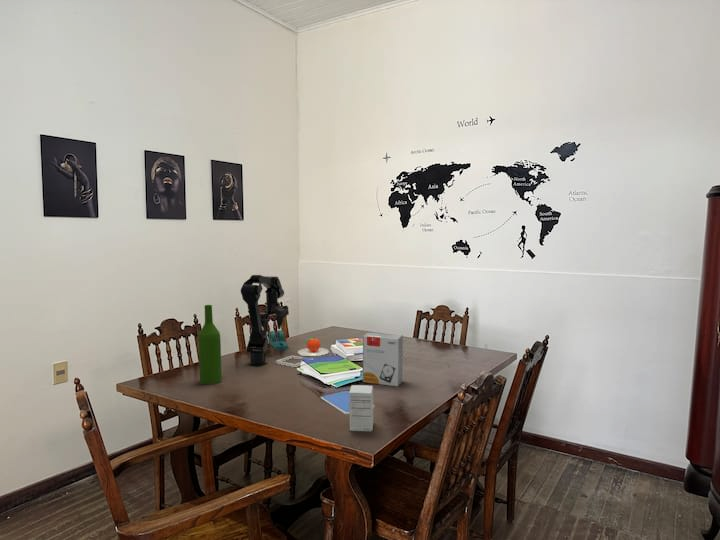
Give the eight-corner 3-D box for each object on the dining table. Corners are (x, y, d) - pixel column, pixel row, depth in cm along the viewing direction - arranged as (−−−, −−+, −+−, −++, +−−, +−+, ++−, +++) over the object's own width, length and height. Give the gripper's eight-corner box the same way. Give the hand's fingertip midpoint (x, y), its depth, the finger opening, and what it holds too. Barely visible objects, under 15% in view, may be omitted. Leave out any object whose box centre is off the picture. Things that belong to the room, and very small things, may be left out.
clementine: (306, 353, 242) (305, 340, 241) (303, 350, 249) (303, 337, 248) (321, 352, 244) (321, 338, 244) (319, 349, 251) (318, 336, 250)
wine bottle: (212, 376, 209) (210, 303, 206) (226, 380, 204) (223, 304, 201) (195, 382, 202) (192, 305, 199) (208, 385, 197) (205, 307, 194)
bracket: (269, 344, 269) (268, 330, 268) (281, 342, 272) (280, 329, 271) (277, 351, 252) (277, 336, 252) (289, 349, 255) (289, 335, 255)
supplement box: (351, 421, 159) (351, 384, 158) (373, 422, 158) (373, 385, 157) (349, 431, 151) (348, 392, 150) (372, 431, 151) (372, 392, 150)
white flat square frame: (294, 367, 221) (294, 364, 221) (276, 363, 228) (276, 360, 228) (310, 362, 230) (310, 359, 230) (292, 358, 237) (292, 355, 237)
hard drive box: (362, 382, 199) (361, 335, 197) (368, 377, 206) (367, 332, 204) (398, 386, 193) (398, 338, 192) (403, 381, 201) (403, 334, 199)
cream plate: (314, 359, 236) (314, 357, 236) (291, 354, 245) (291, 352, 245) (335, 352, 249) (335, 350, 249) (311, 347, 258) (311, 346, 258)
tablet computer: (375, 408, 172) (375, 405, 171) (345, 416, 165) (345, 412, 165) (347, 393, 188) (347, 390, 188) (319, 399, 181) (319, 396, 181)
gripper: (269, 304, 233) (270, 336, 234) (296, 299, 248) (296, 329, 249) (254, 302, 239) (254, 333, 240) (280, 298, 254) (281, 326, 256)
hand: (272, 330), depth 246 cm, fingers open, 9 cm apart
